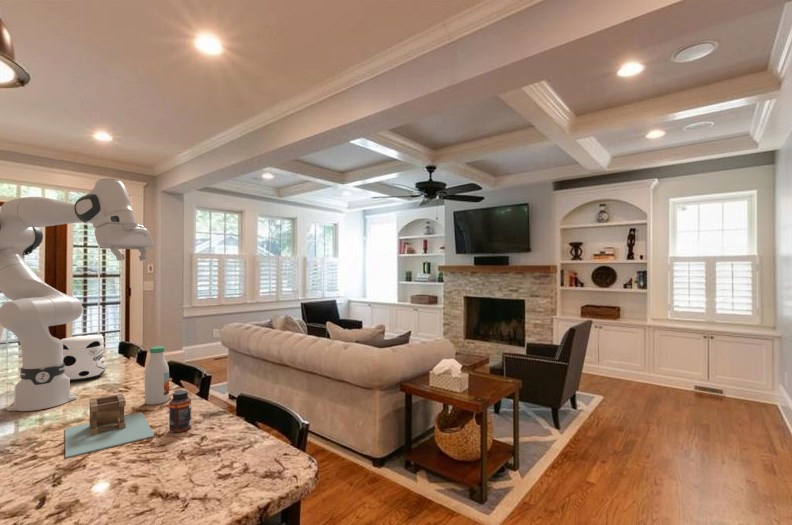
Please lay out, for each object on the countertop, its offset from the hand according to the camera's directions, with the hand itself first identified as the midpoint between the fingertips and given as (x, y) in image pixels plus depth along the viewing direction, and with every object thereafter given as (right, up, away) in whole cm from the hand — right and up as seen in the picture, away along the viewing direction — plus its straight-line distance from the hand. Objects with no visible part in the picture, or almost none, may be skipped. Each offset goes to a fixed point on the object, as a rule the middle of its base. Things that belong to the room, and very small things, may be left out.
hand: (132, 260), depth 137 cm
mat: (+5, -52, -19) cm, 55 cm away
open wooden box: (+3, -52, -16) cm, 54 cm away
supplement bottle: (+26, -52, -16) cm, 60 cm away
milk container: (-49, -53, +40) cm, 82 cm away
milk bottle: (+4, -52, +8) cm, 53 cm away
